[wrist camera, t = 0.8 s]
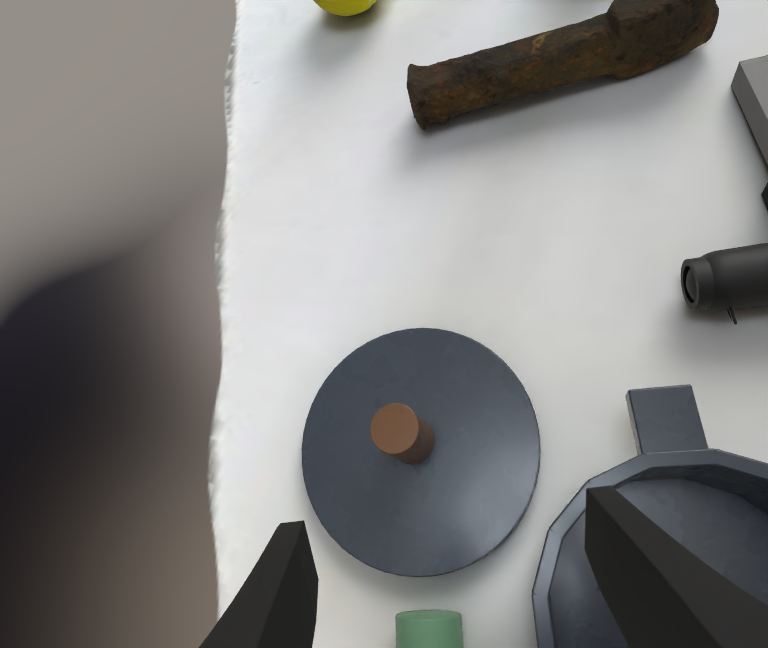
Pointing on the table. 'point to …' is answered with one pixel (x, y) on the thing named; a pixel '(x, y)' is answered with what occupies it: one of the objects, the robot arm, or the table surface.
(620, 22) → the brown rough rod
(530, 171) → the table surface
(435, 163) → the table surface
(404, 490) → the pot lid
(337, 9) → the tennis ball
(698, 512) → the pot
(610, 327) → the table surface
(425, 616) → the green cylinder on base
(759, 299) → the toy submachine gun
